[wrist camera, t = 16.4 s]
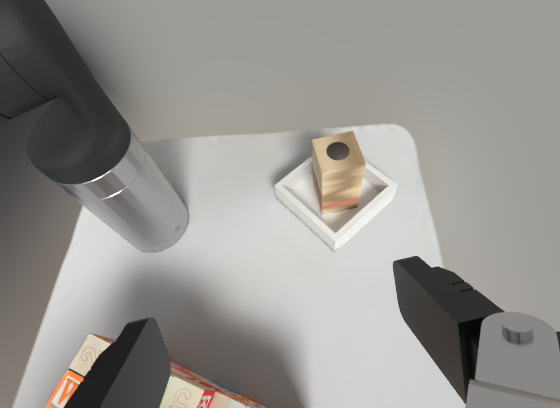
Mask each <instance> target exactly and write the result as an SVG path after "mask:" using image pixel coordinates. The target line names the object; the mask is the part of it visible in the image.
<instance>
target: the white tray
mask: <svg viewBox="0 0 560 408" xmlns="http://www.w3.org/2000/svg"><path fill="white" fill-rule="evenodd" d="M365 163H366V166H365V171H364V176H363V181H362V187H361V192H360V200H359V203H358V207H357V208H353V209H348V210H343V211H339V212H334V213H329V214H324V215H322V213H321V210H320V206H319V203H318V199H317V196H316V192H315V189H314V183H313V157H312V156H311V157H310V158H308V159H307V160H306V161H305V162H303V163H302V164H301V165H299V166H298V167H297V168H296V169H294V170H293V171H292V172H291V173H289V174H288V175H287V176H286V177H284V178H283V179H282V180H281V181H279V182H278V183H277V184H275V185H274V187H275V192H276V196H277V199H278V200H279V201H280V202H281V203H282V204H283V205H284V206H286V207H287V208H288V209H289V210H290V211H291V212H292V213H293V214H294V215H295V216H296V217H297V218H298V219H299V220H300V221H302V222H303V223H304V224H305V225H306V226H307V227H308V228H309V229H310V230H311V231H312V232H313V233H314V234H315V235H316V236H318V237H319V238H320V239H321V240H322V241H323V242H324V243H325V244H326V245H327V246H328V247H329V248H330V249H331V250H332V251H334V252H336V251H337V250H338V249H339V248H340V247H341V246H342V245H343V244H344V243H345V242H347V241H348V240H349V239H350V238H351V237H352V236H353V235H354V234H355V233H356V232H357V231H359V230H360V229H361V228H362V227H363V226H364V225H365V224H366V223H367V222H368V221H369V220H371V219H372V218H373V217H374V216H375V215H376V214H377V213H378V212H379V211H380V210H381V209H382V208H384V207H385V206H386V205H387V204H388V203H389V202H390V201H391V200H392V199H393V197H394V195H395V192H396V189H397V186H398V185H397V184H396V183H394V182H393V181H391V180H390V179H389V178H387V177H386V176H385V175H383V174H382V173H381V172H379V171H378V170H376V169H375V168H374V167H372V166H371V165H370V164H368V163H367V162H366V161H365Z"/></svg>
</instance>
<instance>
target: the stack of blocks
mask: <svg viewBox="0 0 560 408" xmlns="http://www.w3.org/2000/svg"><path fill="white" fill-rule="evenodd" d="M113 342H116V340H113V339H109V338H105V337H102V336H98V335H95V334H89V335H88V337H87V339H86V340H85V342H84V343H83V345H82V347H81V348H80V350H79V351H78V353H77V354H76V356H75V358H74V359H73V361H72V362H71V364H70V365H69V368H70V369H68V370H67V371H66V372H65V374H64V375H63V377H62V379H61V380H60V382H59V384H58V385H57V387H56V388H55V390H54V392H53V393H52V395H51V397H50V398H49V400H48V402H47V403H46V405H45V408H64V406H65V405H66V403H67V402H68V400H69V399H70V397H71V396H72V394H73V393H74V391H75V390H76V388H77V387H78V385H79V384H80V382H82V381H83V378H84V377H85V375H86V374H87V372H88V371H89V370H91V366H92V365H93V363H94V362H95V360H96V359H97V357H98V356H99V355H100V354H101V353H102V352H103V351H104V350H105V349H106V348H107V347H108V346H109V345H111V344H112V343H113ZM170 365H171V373H170V378H169V381H168V384H167V387H166V390H165V393H164V396H163V399H162V402H161V405H160V408H267V407H265V406H263V405H261V404H259V403H257V402H255V401H253V400H251V399H249V398H247V397H245V396H243V395H241V394H239V393H235V392H233V391H231V390H229V389H227V388H225V387H223V386H221V385H219V384H217V383H215V382H212V381H210V380H208V379H206V378H204V377H202V376H200V375H198V374H196V373H194V372H192V371H191V370H189V369H187V368H185V367H183V366H181V365H179V364H177V363H175V362H173V361H171V360H170Z"/></svg>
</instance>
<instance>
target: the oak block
mask: <svg viewBox="0 0 560 408" xmlns="http://www.w3.org/2000/svg"><path fill="white" fill-rule="evenodd" d="M312 157H313V183H314V189H315V192H316V196H317V199H318V203H319V206H320V210H321V213H322V215H324V214H329V213H334V212H339V211H343V210H348V209H353V208H357V207H358V203H359V200H360V192H361V187H362V181H363V176H364V171H365V166H366V163H365V160H364V158H363V155H362V153H361V150H360V148H359V145H358V143H357V140H356V138H355V135H354V132H353V131H350V132H346V133H341V134H336V135H331V136H327V137H322V138H317V139H313V140H312Z"/></svg>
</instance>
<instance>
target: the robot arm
mask: <svg viewBox="0 0 560 408" xmlns="http://www.w3.org/2000/svg"><path fill="white" fill-rule="evenodd" d="M53 99H54V100H53ZM51 100H53V101H52V103H51V104H50V106H49V107H48V108H47V109H46V110H45V111H44V112H43V113H42V115H41V116H40V117H39V118H38V119H37V120H36V122H35V123H34V125H33V126H32V128H31V130H30V132H29V134H28V138H27V142H26V151H27V155H28V157H29V159H30V161H31V162H32V164H33V165H34V166H35V167H36V168H37V169H38V170H40V171H41V172H42V173H43V174H45V175H46V176H47V177H48V178H50V179H51V180H52V181H53V182H55V183H56V184H57V185H58V186H59V187H61V188H62V189H63V190H64V191H66V192H67V193H68V194H69V195H71V196H72V197H73V198H75V199H76V200H77V201H78V202H80V203H81V204H82V205H83V206H84V207H86V208H87V209H88V210H89V211H91V212H92V213H93V214H94V215H96V216H97V217H98V218H99V219H101V220H102V221H103V222H104V223H106V224H107V225H108V226H109V227H110V228H112V229H113V230H114V231H115V232H117V233H118V234H119V235H120V236H121V237H123V238H124V239H125V240H127V241H128V242H129V243H130V244H132V245H133V246H134V247H135V248H137V249H139V250H141V251H145V252H156V251H161V250H163V249H166V248H168V247H170V246H171V245H173V244H174V243H175V242H176V241H177V240H179V239H180V237H181V236H182V235H183V233H184V231H185V229H186V228H187V224H188V216H189V215H188V210H187V208H186V206H185V204H184V203H183V202H182V200H181V199H180V197H179V196H178V195H177V193H176V192H175V190H174V189H173V187H172V186H171V184H170V183H169V182H168V180H167V179H166V177H165V176H164V175H163V173H162V172H161V170H160V169H159V168H158V166H157V165H156V163H155V162H154V161H153V159H152V158H151V156H150V155H149V154H148V152H147V151H146V149H145V148H144V147H143V145H142V144H141V142H140V141H139V140H138V138H137V137H136V136H135V134H134V133H133V131H132V130H131V128H130V127H129V126H128V124H127V123H126V121H125V120H124V119H123V117H122V116H121V115H120V113H119V112H118V111H117V109H116V108H115V107H114V105H113V104H112V102H111V101H110V100H109V98H108V97H107V95H106V94H105V93H104V91H103V90H102V88H101V87H100V86H99V84H98V83H97V81H96V80H95V78H94V77H93V75H92V74H91V72H90V70H89V69H88V68H87V66H86V64H85V63H84V61H83V59H82V58H81V57H80V55H79V53H78V52H77V50H76V48H75V47H74V45H73V43H72V42H71V40H70V39H69V37H68V35H67V34H66V32H65V31H64V29H63V28H62V26H61V24H60V23H59V21H58V20H57V18H56V17H55V15H54V14H53V12H52V11H51V9H50V8H49V6H48V5H47V3H46V2H45V1H44V0H0V123H3V122H5V121H8V120H9V119H12V118H14V117H16V116H19V115H21V114H23V113H25V112H27V111H29V110H31V109H34V108H36V107H38V106H40V105H42V104H44V103H46V102H48V101H51ZM393 271H394V278H395V285H396V292H397V298H398V305H399V308H400V312H401V314H402V317H403V319H404V321H405V322H406V324H407V325H408V327H409V328H410V329H411V331H412V332H413V333H414V335H415V336H416V337H417V339H418V340H419V341H420V343H421V344H422V346H423V347H424V348H425V350H426V351H427V352H428V354H429V355H430V356H431V358H432V359H433V361H434V362H435V363H436V365H437V366H438V367H439V369H440V370H441V371H442V373H443V374H444V375H445V377H446V378H447V380H448V381H449V382H450V384H451V385H452V386H453V388H454V389H455V390H456V392H457V393H458V395H459V396H460V397H461V399H462V400H463V401H464V403H465V404H466V408H560V332H555V330H554V329H553V328H552V327H551V326H550V325H548V324H547V323H546V322H544V321H542V320H540V319H538V318H536V317H533V316H530V315H527V314H522V313H515V312H504V311H503V310H502V309H500V308H499V307H498V306H496V305H495V304H494V303H493V302H491V301H490V300H489V299H487V298H486V297H485V296H484V295H482V294H481V293H479V292H478V291H477V290H474V289H473V287H472V286H471V285H469V284H468V283H467V282H464V280H463V279H461V278H460V277H459V276H458V275H456V274H455V273H454V272H451V271H449V270H446V269H443V268H440V267H434V268H431V267H430V266H429V265H428V264H426V263H425V262H424V261H423V260H422V259H421V258H419V257H418V256H413V257H409V258H405V259H400V260H396V261H394V262H393ZM170 373H171V365H170V358H169V355H168V352H167V350H166V347H165V344H164V341H163V338H162V336H161V333H160V330H159V327H158V325H157V322H156V320H155V319H154V318H147V319H142V320H138V321H134V322H130V323H128V324H127V325H126V326H125V328H124V329H123V331H122V332H121V334H120V336H119V337H118V339H117V340H116V342H113V343H112V344H111V345H109V346H108V347H107V348H106V349H105V350H104V351H103V352H102V353H101V354H100V355H99V356H98V357H97V359H96V360H95V362H94V363H93V365H92V366H91V370H89V371H88V372H87V374H86V375H85V377H84V378H83V381H82V382H80V384H79V385H78V387H77V388H76V390H75V391H74V393H73V394H72V396H71V397H70V399H69V400H68V402H67V403H66V405H65V406H64V408H160V405H161V402H162V399H163V396H164V393H165V390H166V387H167V384H168V381H169V378H170Z"/></svg>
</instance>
